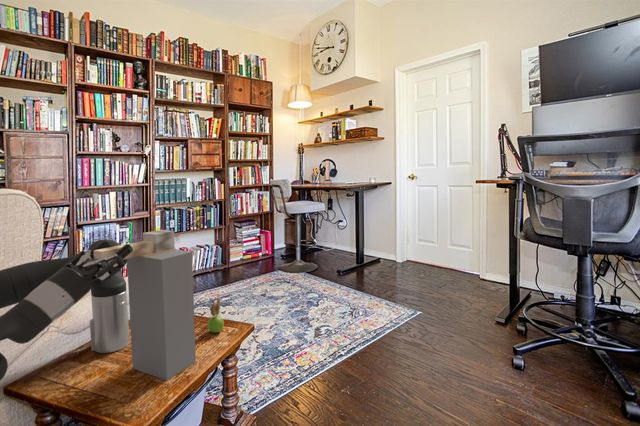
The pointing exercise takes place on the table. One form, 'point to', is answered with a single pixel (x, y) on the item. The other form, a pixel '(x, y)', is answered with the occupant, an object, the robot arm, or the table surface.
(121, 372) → the table surface
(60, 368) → the table surface
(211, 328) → the snail figurine
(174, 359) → the pedestal
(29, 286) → the robot arm
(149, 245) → the beam
